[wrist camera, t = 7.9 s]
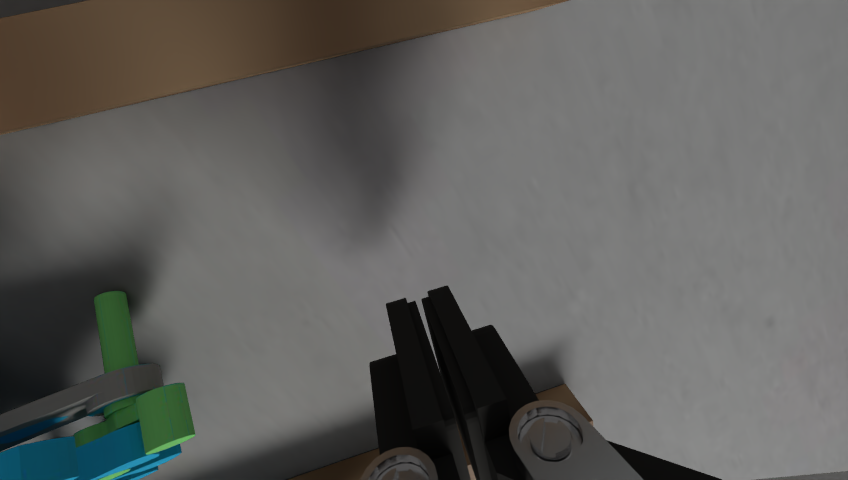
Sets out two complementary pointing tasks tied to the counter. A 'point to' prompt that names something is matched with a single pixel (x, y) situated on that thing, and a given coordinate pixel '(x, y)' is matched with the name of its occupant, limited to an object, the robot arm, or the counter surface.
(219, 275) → the counter surface
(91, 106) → the channel rails
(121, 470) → the gear
